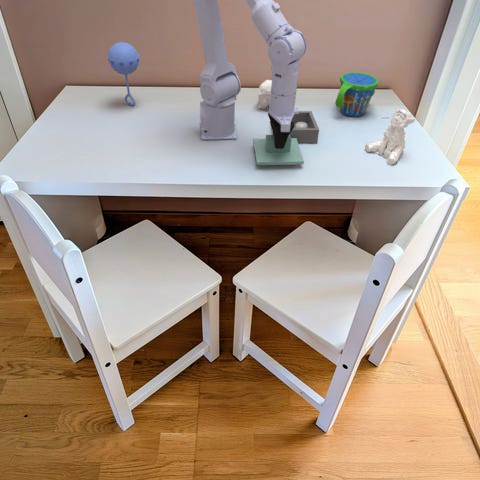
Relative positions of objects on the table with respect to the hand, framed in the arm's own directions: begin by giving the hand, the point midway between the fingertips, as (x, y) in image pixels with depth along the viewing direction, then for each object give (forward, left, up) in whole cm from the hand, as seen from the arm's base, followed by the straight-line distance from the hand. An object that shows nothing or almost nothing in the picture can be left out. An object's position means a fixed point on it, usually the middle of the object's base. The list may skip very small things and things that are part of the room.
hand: (278, 144), depth 101 cm
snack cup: (+26, +25, -4) cm, 36 cm away
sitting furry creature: (+29, +1, -4) cm, 29 cm away
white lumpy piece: (+1, +31, -4) cm, 31 cm away
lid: (0, 0, -3) cm, 3 cm away
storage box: (+6, +12, -3) cm, 14 cm away
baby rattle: (-41, +31, -4) cm, 52 cm away
